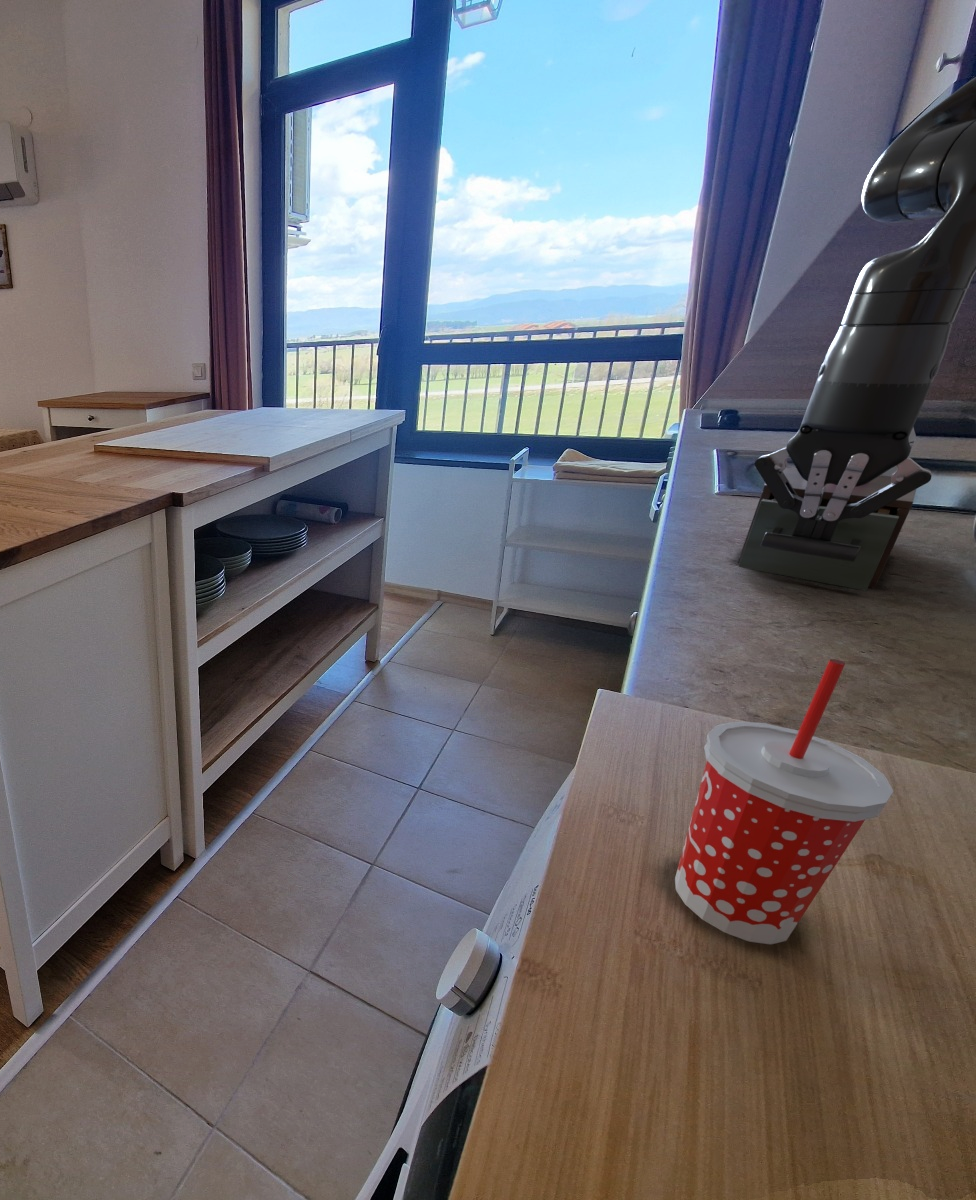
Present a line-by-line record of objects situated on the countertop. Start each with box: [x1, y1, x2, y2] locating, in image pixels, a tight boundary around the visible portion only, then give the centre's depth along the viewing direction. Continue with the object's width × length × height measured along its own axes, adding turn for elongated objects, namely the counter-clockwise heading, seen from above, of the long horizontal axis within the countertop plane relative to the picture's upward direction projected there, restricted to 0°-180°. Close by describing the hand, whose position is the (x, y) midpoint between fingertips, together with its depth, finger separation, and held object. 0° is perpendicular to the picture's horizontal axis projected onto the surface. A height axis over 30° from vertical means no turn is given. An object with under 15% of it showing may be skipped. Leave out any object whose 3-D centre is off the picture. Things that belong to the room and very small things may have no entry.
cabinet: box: [737, 466, 917, 589], centre depth 74 cm, size 15×12×10 cm
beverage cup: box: [674, 658, 894, 945], centre depth 29 cm, size 6×6×14 cm
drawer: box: [737, 496, 899, 591], centre depth 69 cm, size 19×10×8 cm, turn 131°
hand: (805, 552), depth 65 cm, fingers closed
